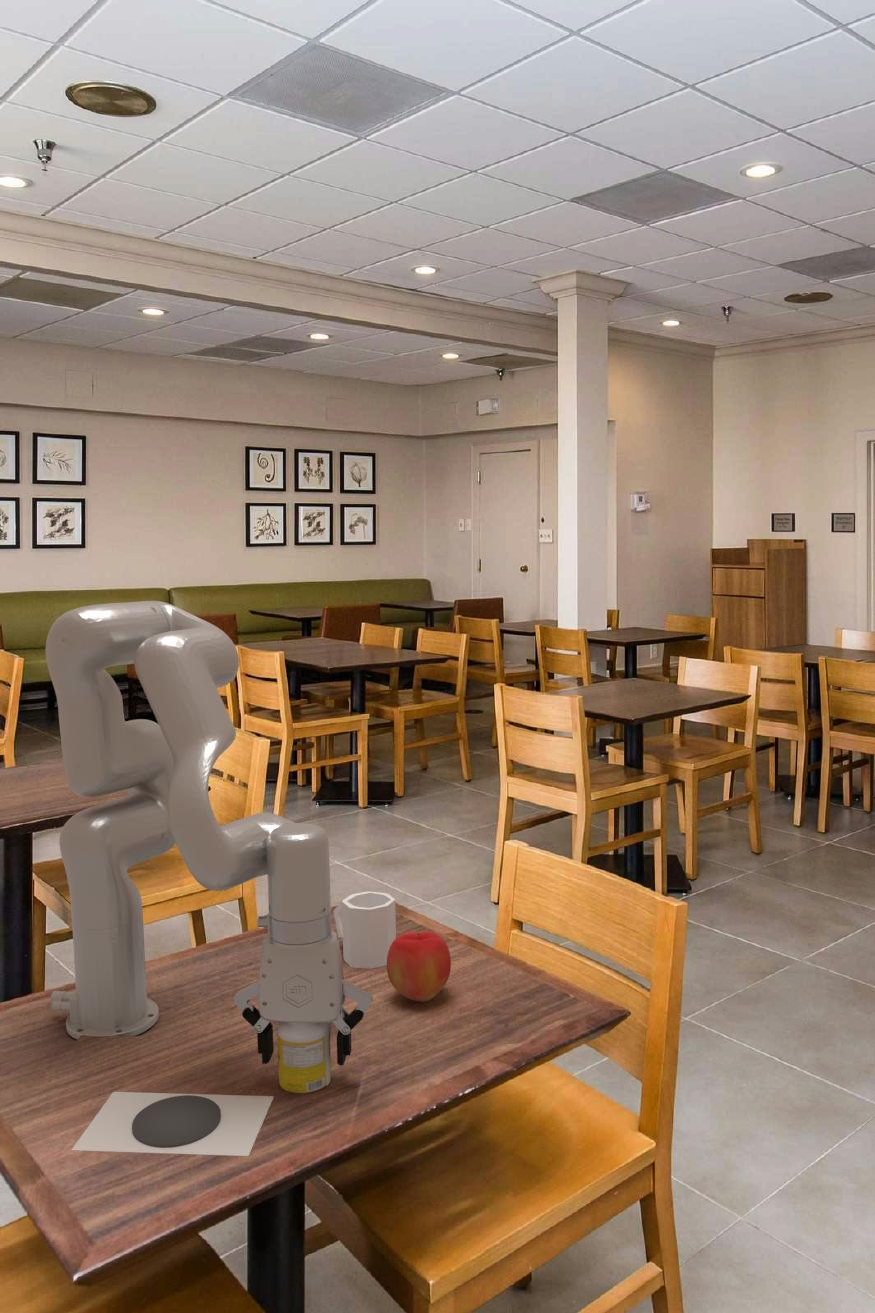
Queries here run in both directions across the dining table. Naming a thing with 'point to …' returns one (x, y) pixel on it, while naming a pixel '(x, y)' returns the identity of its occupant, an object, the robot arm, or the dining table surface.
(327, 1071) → the pill bottle
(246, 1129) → the board
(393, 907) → the mug
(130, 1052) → the dining table surface
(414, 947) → the apple
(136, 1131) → the pad
